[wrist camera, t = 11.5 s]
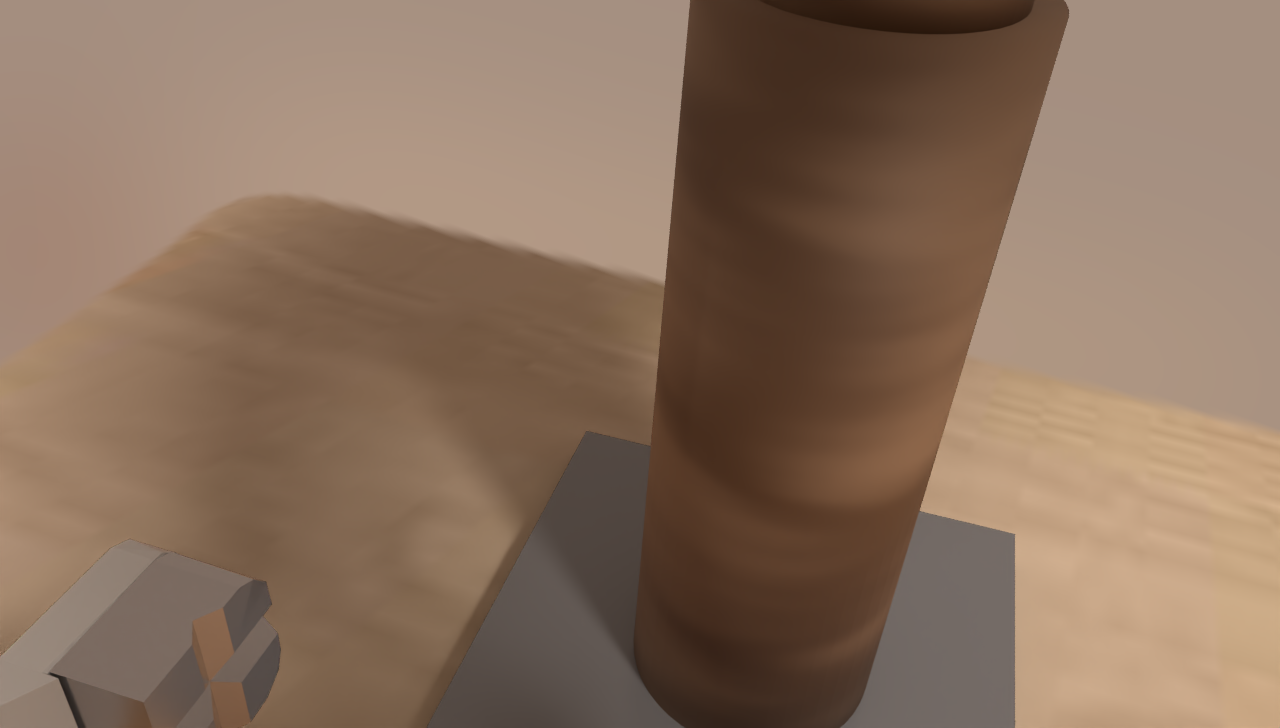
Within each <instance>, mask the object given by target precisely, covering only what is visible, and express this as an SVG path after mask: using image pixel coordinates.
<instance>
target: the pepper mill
mask: <svg viewBox="0 0 1280 728" xmlns="http://www.w3.org/2000/svg"><path fill="white" fill-rule="evenodd" d="M1068 18H1069V9H1068V7H1067V4H1066V2H1065V1H1064V0H690V9H689V21H688V33H687V43H686V56H685V66H684V77H683V88H682V89H683V90H682V100H681V111H680V122H679V123H680V124H679V134H678V146H677V156H676V168H675V179H674V190H673V202H672V213H671V224H670V236H669V248H668V258H667V269H666V280H665V292H664V303H663V314H662V326H661V337H660V348H659V359H658V371H657V382H656V393H655V405H654V416H653V427H652V439H651V450H650V461H649V472H648V484H647V495H646V506H645V518H644V529H643V540H642V551H641V563H640V574H639V585H638V597H637V608H636V619H635V630H634V656H635V661H636V665H637V669H638V671H639V674H640V676H641V679H642V681H643V683H644V685H645V687H646V688H647V690H648V692H649V693H650V695H651V696H652V697H653V699H654V700H655V701H656V703H657V704H658V705H659V706H660V707H661V708H662V709H663V710H664V711H665V712H666V713H667V714H668V715H669V716H670V717H671V718H673V719H674V720H675V721H676V722H678V723H679V724H680V725H681V726H683V727H685V728H840V727H841V726H843V725H844V724H845V723H846V722H847V721H848V719H849V718H850V717H851V716H852V715H853V714H854V712H855V710H856V709H857V707H858V706H859V704H860V702H861V700H862V697H863V695H864V692H865V689H866V686H867V682H868V679H869V676H870V673H871V669H872V666H873V663H874V659H875V656H876V653H877V649H878V646H879V643H880V639H881V636H882V633H883V630H884V626H885V623H886V620H887V616H888V613H889V610H890V606H891V603H892V600H893V597H894V593H895V590H896V587H897V583H898V580H899V577H900V573H901V570H902V567H903V563H904V560H905V557H906V554H907V550H908V547H909V544H910V540H911V537H912V534H913V530H914V527H915V524H916V520H917V517H918V514H919V511H920V507H921V504H922V501H923V497H924V494H925V491H926V487H927V484H928V481H929V477H930V474H931V471H932V468H933V464H934V461H935V458H936V454H937V451H938V448H939V444H940V441H941V438H942V434H943V431H944V428H945V425H946V421H947V418H948V415H949V411H950V408H951V405H952V401H953V398H954V395H955V392H956V388H957V385H958V382H959V378H960V375H961V372H962V368H963V365H964V362H965V358H966V355H967V352H968V348H969V345H970V342H971V338H972V335H973V332H974V329H975V325H976V322H977V319H978V315H979V312H980V309H981V306H982V302H983V299H984V296H985V292H986V289H987V286H988V282H989V279H990V276H991V272H992V269H993V266H994V262H995V259H996V256H997V252H998V249H999V246H1000V243H1001V239H1002V236H1003V233H1004V229H1005V226H1006V223H1007V220H1008V216H1009V213H1010V209H1011V206H1012V203H1013V200H1014V196H1015V193H1016V190H1017V186H1018V183H1019V180H1020V176H1021V173H1022V170H1023V167H1024V163H1025V160H1026V156H1027V153H1028V150H1029V146H1030V143H1031V140H1032V137H1033V134H1034V130H1035V127H1036V124H1037V120H1038V117H1039V114H1040V110H1041V107H1042V104H1043V100H1044V97H1045V94H1046V91H1047V87H1048V84H1049V81H1050V77H1051V74H1052V71H1053V67H1054V64H1055V61H1056V57H1057V54H1058V51H1059V48H1060V44H1061V41H1062V38H1063V34H1064V31H1065V28H1066V24H1067V21H1068Z"/></svg>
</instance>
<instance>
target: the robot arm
mask: <svg viewBox="0 0 1280 728" xmlns="http://www.w3.org/2000/svg"><path fill="white" fill-rule="evenodd" d="M271 605H272V603H271V599H270V595H269V591H268V588H267V584H266V582H265V581H262V580H259V579H256V578H252V577H249V576H246V575H243V574H240V573H236V572H233V571H230V570H227V569H224V568H221V567H217V566H214V565H211V564H208V563H205V562H202V561H198V560H195V559H192V558H189V557H186V556H183V555H179V554H177V553H175V552H172V551H168V550H165V549H162V548H158V547H155V546H151V545H148V544H145V543H141V542H138V541H135V540H131V539H128V540H126V541H124V542H122V543H120V544H118V545H115V546H113V547H111V548H110V549H109V550H108V551H107V552H106V553H105V554H104V555H103V556H102V557H101V558H100V559H99V560H98V561H97V562H96V563H95V564H94V565H93V566H92V567H91V568H90V569H89V570H88V571H87V572H86V573H85V574H83V575H82V576H81V577H80V578H79V579H78V580H77V581H76V582H75V583H74V584H73V585H72V586H71V587H70V588H69V589H68V590H67V591H66V592H65V593H64V594H63V595H62V596H61V597H60V598H59V599H58V600H57V601H56V602H55V603H54V604H53V605H52V606H51V607H50V608H49V609H48V610H47V611H46V612H45V613H44V614H43V615H42V616H41V617H40V618H39V619H38V620H37V621H36V622H35V623H34V624H33V625H32V626H31V627H30V628H29V629H28V630H27V631H26V632H25V633H24V634H23V635H22V636H21V637H19V638H18V639H17V640H16V641H15V642H14V643H13V644H12V645H11V646H10V647H9V648H8V649H7V650H6V651H5V652H4V653H3V654H2V655H1V656H0V728H240V727H242V726H244V725H246V724H248V723H250V722H251V721H252V719H253V718H254V717H255V715H256V714H257V712H258V711H259V709H260V708H261V706H262V705H263V703H264V702H265V700H266V699H267V697H268V695H269V692H270V690H271V687H272V685H273V682H274V680H275V678H276V675H277V673H278V670H279V661H280V652H281V648H280V643H279V637H278V633H277V632H276V631H275V629H274V628H273V627H272V626H271V625H270V624H269V622H268V621H267V620H266V619H265V618H264V617H263V615H264V614H265V612H266V611H267V610H268V608H269V607H270V606H271Z"/></svg>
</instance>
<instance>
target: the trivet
mask: <svg viewBox="0 0 1280 728" xmlns="http://www.w3.org/2000/svg"><path fill="white" fill-rule="evenodd" d="M650 450H651V446H647V445H643V444H639V443H634V442H630V441H626V440H622V439H618V438H614V437H610V436H605V435H601V434H597V433H593V432H589V431H586V433H585V435H584V437H583V439H582V440H581V442H580V444H579V446H578V448H577V450H576V452H575V453H574V455H573V457H572V459H571V461H570V463H569V464H568V466H567V468H566V470H565V472H564V474H563V476H562V477H561V479H560V481H559V483H558V485H557V487H556V489H555V490H554V492H553V494H552V496H551V498H550V500H549V502H548V503H547V505H546V507H545V509H544V511H543V513H542V515H541V516H540V518H539V520H538V522H537V524H536V526H535V527H534V529H533V531H532V533H531V535H530V537H529V539H528V540H527V542H526V544H525V546H524V548H523V550H522V552H521V553H520V555H519V557H518V559H517V561H516V563H515V565H514V566H513V568H512V570H511V572H510V574H509V576H508V578H507V579H506V581H505V583H504V585H503V587H502V589H501V590H500V592H499V594H498V596H497V598H496V600H495V602H494V603H493V605H492V607H491V609H490V611H489V613H488V615H487V616H486V618H485V620H484V622H483V624H482V626H481V628H480V629H479V631H478V633H477V635H476V637H475V639H474V641H473V642H472V644H471V646H470V648H469V650H468V652H467V653H466V655H465V657H464V659H463V661H462V663H461V665H460V666H459V668H458V670H457V672H456V674H455V676H454V678H453V679H452V681H451V683H450V685H449V687H448V689H447V691H446V692H445V694H444V696H443V698H442V700H441V702H440V704H439V705H438V707H437V709H436V711H435V713H434V715H433V716H432V718H431V720H430V722H429V724H428V726H427V728H685V727H683V726H681V725H680V724H679V723H678V722H676V721H675V720H674V719H673V718H671V717H670V716H669V715H668V714H667V713H666V712H665V711H664V710H663V709H662V708H661V707H660V706H659V705H658V704H657V703H656V701H655V700H654V699H653V697H652V696H651V695H650V693H649V692H648V690H647V688H646V687H645V685H644V683H643V681H642V679H641V676H640V674H639V671H638V669H637V665H636V661H635V656H634V630H635V619H636V608H637V597H638V585H639V574H640V563H641V551H642V540H643V529H644V518H645V506H646V495H647V484H648V472H649V461H650ZM840 728H1015V534H1012V533H1008V532H1004V531H1000V530H996V529H991V528H987V527H983V526H979V525H975V524H971V523H966V522H962V521H958V520H954V519H950V518H946V517H942V516H937V515H933V514H929V513H925V512H921V511H919V514H918V517H917V520H916V524H915V527H914V530H913V534H912V537H911V540H910V544H909V547H908V550H907V554H906V557H905V560H904V563H903V567H902V570H901V573H900V577H899V580H898V583H897V587H896V590H895V593H894V597H893V600H892V603H891V606H890V610H889V613H888V616H887V620H886V623H885V626H884V630H883V633H882V636H881V639H880V643H879V646H878V649H877V653H876V656H875V659H874V663H873V666H872V669H871V673H870V676H869V679H868V682H867V686H866V689H865V692H864V695H863V697H862V700H861V702H860V704H859V706H858V707H857V709H856V710H855V712H854V714H853V715H852V716H851V717H850V718H849V719H848V721H847V722H846V723H845V724H844V725H843V726H841V727H840Z"/></svg>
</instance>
